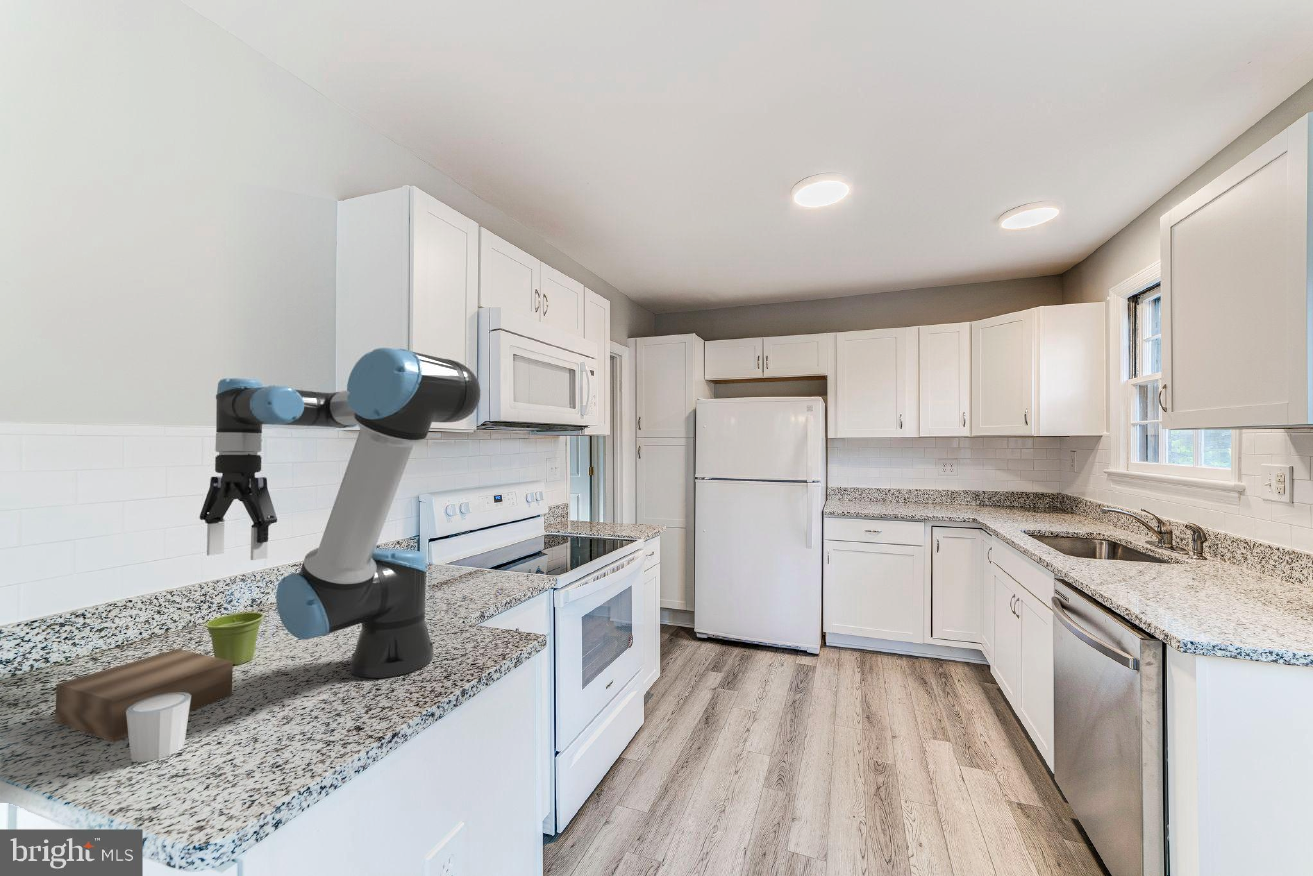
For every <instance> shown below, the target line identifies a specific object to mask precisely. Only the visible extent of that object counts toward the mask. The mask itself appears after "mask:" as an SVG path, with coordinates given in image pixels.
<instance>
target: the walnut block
mask: <svg viewBox="0 0 1313 876" xmlns="http://www.w3.org/2000/svg"><path fill="white" fill-rule="evenodd" d="M233 666H234V664H233V661H230V660H225V659H220V658H216V657H214V656H212V655H211V656H210V655H206V654H201V653H197V652H192V651H189V650H183V649H178V648H176V649H173V650H169V651H165V652H162V653H158V654H155V655H152V656H148V657H145V658H142V659H137V660H134V661H131V662H128V663H127V662H126V663H124V664H121V665H117V666H114V667H111V668H107V669H104V670H103V669H102V670H100V671H97V672H93V673H91V674H90V673H89V674H87V675H83V676H79V677H77V678H74V679H73V678H72V679H70V680H66V681H63V682H59V683H56V686H55V689H56V690H55V717H54V723H57V724H60V725H62V726H64V727H65V726H66V727H68V728H71V729H74V730H77V731H79V732H82V733H86V734H88V735H92V736H95V737H97V736H98V737H97V738H101V739H103V738H105V739H104V740H106V739H107V741H109V740H110V741H109V742H112V743H115V742H117V741H119V739H120V740H121V738H122V739H124V738H127V737H129V736H128V726H127V716H126V710H127V709H128V708H129V707H130V706H132V705H133V704H135V703H137V702H139V701H142V700H144V699H147V698H150V697H154V696H157V695H162V694H167V693H176V692H184V693H189V694H190V695H191V701H190V708H189V713H191V712H193V711H195V710H199V709H200V708H204V707H206V706H208V704H209V705H210V704H213V703H216V702H219V701H221V700H223V699H226V698H225V697H227V698H228V697H229V698H230V697H231V695H232V696H233V672H234V671H233V669H234V667H233ZM220 699H221V700H220ZM218 700H219V701H218ZM114 741H115V742H114Z"/></svg>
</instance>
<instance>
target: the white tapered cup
mask: <svg viewBox="0 0 1313 876" xmlns="http://www.w3.org/2000/svg"><path fill="white" fill-rule="evenodd" d="M190 701H191V695H190V694H189V693H184V692H176V693H167V694H162V695H157V696H154V697H150V698H147V699H144V700H142V701H139V702H137V703H135V704H133V705H132V706H130V707H129V708H128V709H127V710H126V716H127V726H128V736H127V737H128V743H129V755H130V760H131V759H132V760H133V761H137V762H136V763H139V762H140V763H143V762H142V761H149V762H151V761H150V760H153V761H157V760H160V759H159V758H161V759H163V758H166V757H169V756H171V755H173V754H175V753H177V752H178V751H180V750H181V749H182V748H184V745H185V742H186V736H187V729H188V728H187V727H188V722H189V721H188V720H189V715H190V712H189V708H190ZM156 759H157V760H156ZM132 760H131V761H132ZM133 761H132V762H133Z"/></svg>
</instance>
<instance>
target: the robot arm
mask: <svg viewBox="0 0 1313 876" xmlns="http://www.w3.org/2000/svg"><path fill="white" fill-rule="evenodd" d="M480 386H481V385H480V382H479V380H478V378H477V376H476V375H475V374H474V372H473V371H472V370H471V369H470V368H469V367H467V366H466V365H464V364H463V363H461V362H460V361H455V360H453V359H449V358H448V359H447V358H441V357H437V356H433V355H428V354H424V353H419V352H415V351H411V350H408V349H403V348H398V349H397V348H391V347H378V348H375V349H373V350H372V351H368V352H366V353H365V354H364V355H362V356H361V357H360V358H359V359H358V360H357V361H356V363H355V365H354V366H353V368H352V369H351V371H350V374H349V376H348V379H347V383H346V390H341V391H335V392H322V391H321V392H319V391H312V390H302V389H294V388H291V387H289V386H285V385H283V386H282V385H275V384H274V385H268V386H263V384H262V382H261V381H259V380H255V379H247V378H239V377H238V378H230V377H229V378H228V377H227V378H222V379H220V380H219V381H218V383H217V388H216V389H217V391H216V395H215V399H216V401H215V402H216V403H215V404H216V412H215V413H216V415H215V416H216V417H215V419H216V420H215V421H216V422H215V423H216V427H215V429H216V432H215V446H214V447H215V448H214V449H215V452H216V453H218V454H217V455H216V456H214V457H215V458H214V459H215V463H214V467H215V468H214V470H215V473H217V474H221V476H218V475H217V476H210V482H209V488H208V490H207V494H206V497H205V500H204V503H203V506H202V509H201V512H200V514H199V520H201V521H203V520H204V522H205V524H207V533H206V536H207V537H206V540H207V541H206V543H207V544H206V556H215V555H220V554H221V555H222V554H224V552H225V551H224V549H225V521H226V520H225V518H224V517H225V516H226V513H227V512H228V510H229V508H230V507H231V506H232V503H233V502H234V501H235V500H238V502H242V504H243V506H244V507H245V509H246V511H247V514H248V516H249V517H250V519H251V521H252V523H253V524H252V525H251V526H250V527H251V528H250V531H251V532H250V561H256V560H261V559H266V558H268V542H269V527H270V526H271V525H272V524H275V523H277V522H278V518H277V514H276V510H275V508H274V504H273V501H272V499H271V495H270V492H269V489H268V479H267V477H265V476H261V477H256V473H260V472H261V471H262V456H261V454H258V453H260V452H262V441H263V439H262V434H263V425H271V426H272V425H275V426H276V425H277V426H296V427H297V426H300V427H301V426H302V427H304V426H305V427H322V428H323V427H324V428H325V427H327V428H336V429H346V428H355V427H357V426H358V428H359V432H358V435H357V438H356V439H355V440H356V441H355V443H354V446H353V449H352V452H351V454H350V458H349V461H348V463H347V466H346V469H345V472H344V474H343V478H342V480H341V484H340V486H339V489H338V492H337V495H336V497H335V500H334V503H333V506H332V509H331V511H330V515H329V517H328V520H327V523H326V526H325V529H324V531H323V534H322V538H321V541H320V543H319V546H318V547H316V548H314V549H312V550H310V551H309V552H308V553H307V554H306V555H305V557H304V559H303V561H302V565H301V567H300V570H299V571H298V572H297V573H296V572H291V573H289V574H287V575H286V576H284V577H282V578H281V579H280V581H279V582H278V585H277V588H276V592H275V593H276V594H275V600H276V602H275V605H276V609H277V613H278V617H279V619H280V621H281V623H282V625H283V626H284V628H285V630H286V631H288V633H289V634H290V635H291V636H293V637H294V638H297V639H299V640H303V641H305V640H311V639H314V638H319V637H325V636H328V635H330V634H332V633H335V632H338V631H342V630H345V629H348V628H351V627H354V626H356V625H361V629H360V633H359V635H358V640H357V643H356V644H355V645H356V646H355V650H354V651H353V653H352V656H350V657H351V658H350V672H351V674H352V675H354V676H357V677H360V678H366V679H381V678H382V679H383V678H390V677H396V676H401V675H405V674H408V673H409V674H410V673H412V672H414V671H418V670H420V669H422V668H424V667H426V666H427V665H429V664H430V663H431V662H432V661H433V659H434V644H433V642H432V641H431V637H430V634H429V630H428V627H427V624H426V617H425V615H426V587H427V586H426V585H427V584H426V581H427V577H426V576H427V569H426V557H425V554H424V553H423V552H421V551H420V550H419V551H418V550H415V549H404V548H403V549H401V548H376V546H377V544H378V541H379V538H380V536H381V533H382V531H383V529H384V526H385V523H386V520H387V518H388V515H389V511H390V509H391V506H392V504H393V502H394V499H395V496H396V493H397V491H398V488H399V485H400V482H401V479H402V476H403V474H404V471H405V470H406V466H407V463H408V461H409V458H410V455H411V453H412V450H413V447H414V445H415V444H418V443H420V442H422V441H425V440H426V439H427V436H428V434H429V431H430V428H431V425H432V423H455V422H460V421H463V420H464V419H467V418H468V417H470V416H471V415H472V414H473V413H474V412H475V410H476V409H477V407H478V405H479V403H480V399H481V387H480Z"/></svg>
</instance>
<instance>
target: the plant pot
mask: <svg viewBox="0 0 1313 876" xmlns="http://www.w3.org/2000/svg"><path fill="white" fill-rule="evenodd" d="M264 617H265V614H264V613H262V612H254V611H251V612H246V611H245V612H239V613H232V614H228V615H227V614H226V615H222V616H219V617H215V618H213V619H211V620H209V621H207V622H206V623H205V628H207V630H208V633H209V634H210V636H211V637H210V638H211V644H212V650H213V651H212V652H213V657H216V658H220V659H225V660H230V661H233V665H235V666H236V665H237V666H238V665H239V664H240V665H242V663H243V664H245V663H247V661H248V662H250V661H251V660H252V659H254V656H255V651H256V645H257V639H258V633H259V628H260V626H261V623H262V621H263V619H264Z"/></svg>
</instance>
